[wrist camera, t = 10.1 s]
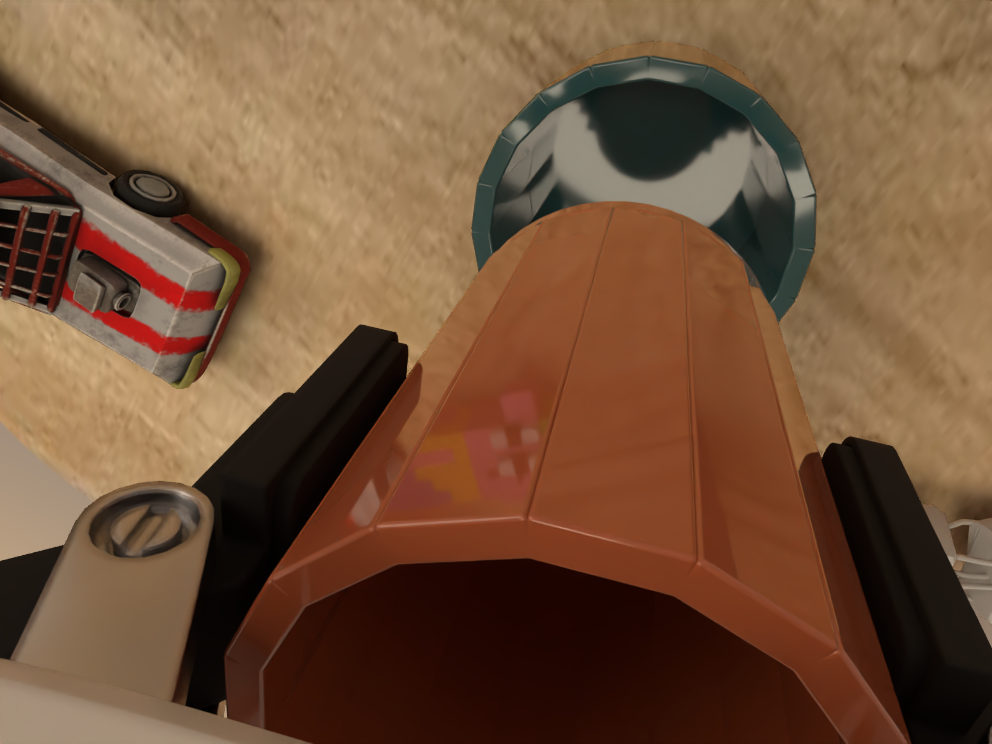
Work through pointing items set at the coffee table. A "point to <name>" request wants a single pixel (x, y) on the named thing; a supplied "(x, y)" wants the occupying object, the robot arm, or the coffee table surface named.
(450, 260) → the coffee table surface
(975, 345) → the coffee table surface
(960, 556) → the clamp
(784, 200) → the teal round container
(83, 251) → the toy car
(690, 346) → the cup
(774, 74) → the coffee table surface
